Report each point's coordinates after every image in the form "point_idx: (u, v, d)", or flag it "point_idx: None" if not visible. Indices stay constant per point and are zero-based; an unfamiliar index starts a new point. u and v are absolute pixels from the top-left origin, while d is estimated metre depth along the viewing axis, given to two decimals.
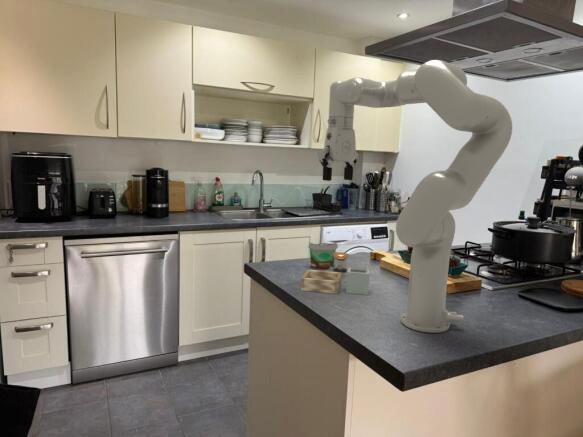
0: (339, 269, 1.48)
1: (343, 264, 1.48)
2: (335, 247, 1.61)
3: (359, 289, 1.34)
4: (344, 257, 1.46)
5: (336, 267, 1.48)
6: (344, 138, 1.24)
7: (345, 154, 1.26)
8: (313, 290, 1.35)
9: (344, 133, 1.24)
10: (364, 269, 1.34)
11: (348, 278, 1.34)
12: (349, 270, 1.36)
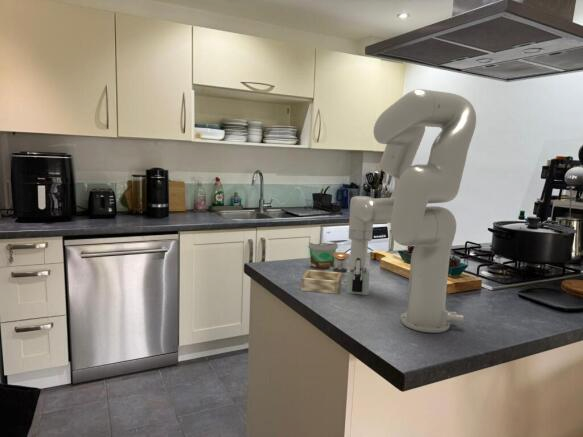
0: (339, 269, 1.48)
1: (343, 264, 1.48)
2: (335, 247, 1.61)
3: None
4: (344, 257, 1.46)
5: (336, 267, 1.48)
6: None
7: None
8: (313, 290, 1.35)
9: None
10: None
11: (348, 278, 1.34)
12: (349, 270, 1.36)
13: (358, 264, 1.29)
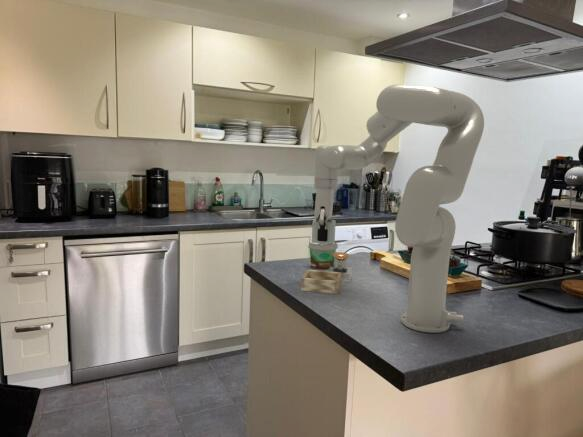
0: (339, 269, 1.48)
1: (343, 264, 1.48)
2: (335, 247, 1.61)
3: None
4: (344, 257, 1.46)
5: (336, 267, 1.48)
6: None
7: None
8: (313, 290, 1.35)
9: None
10: (329, 219, 1.35)
11: (313, 227, 1.35)
12: (315, 220, 1.37)
13: (322, 212, 1.30)
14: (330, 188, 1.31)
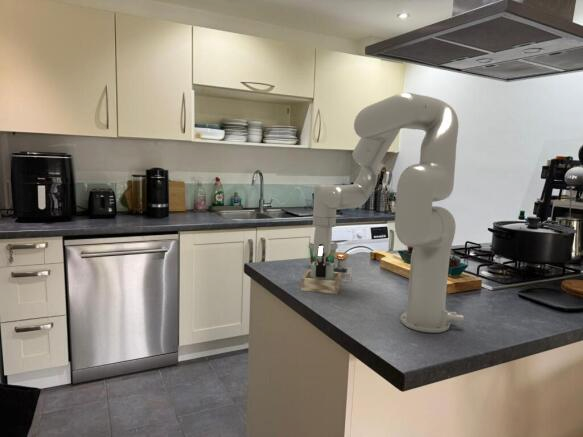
0: (339, 269, 1.48)
1: (343, 264, 1.48)
2: (335, 247, 1.61)
3: None
4: (344, 257, 1.46)
5: (336, 267, 1.48)
6: None
7: None
8: (313, 290, 1.35)
9: None
10: (328, 262, 1.37)
11: (312, 271, 1.37)
12: (313, 263, 1.39)
13: (320, 249, 1.32)
14: (328, 226, 1.33)
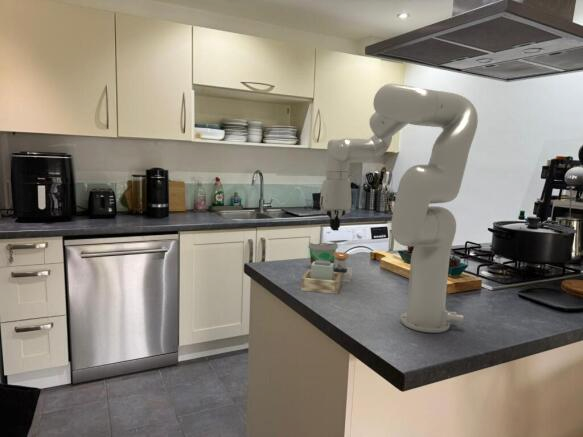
0: (339, 269, 1.48)
1: (343, 264, 1.48)
2: (335, 247, 1.61)
3: None
4: (344, 257, 1.46)
5: (336, 267, 1.48)
6: None
7: None
8: (313, 290, 1.35)
9: None
10: (328, 262, 1.37)
11: (312, 271, 1.37)
12: (313, 263, 1.39)
13: (322, 203, 1.41)
14: (329, 179, 1.38)
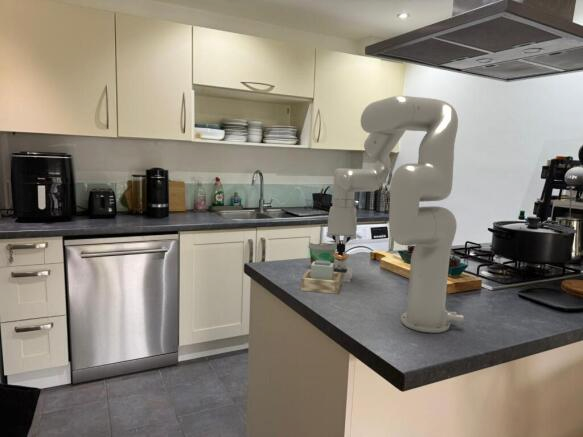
0: (339, 270, 1.48)
1: (343, 264, 1.48)
2: (335, 247, 1.61)
3: None
4: (344, 257, 1.46)
5: (336, 267, 1.48)
6: None
7: None
8: (313, 290, 1.35)
9: None
10: (328, 262, 1.37)
11: (312, 271, 1.37)
12: (313, 263, 1.39)
13: None
14: (333, 206, 1.45)
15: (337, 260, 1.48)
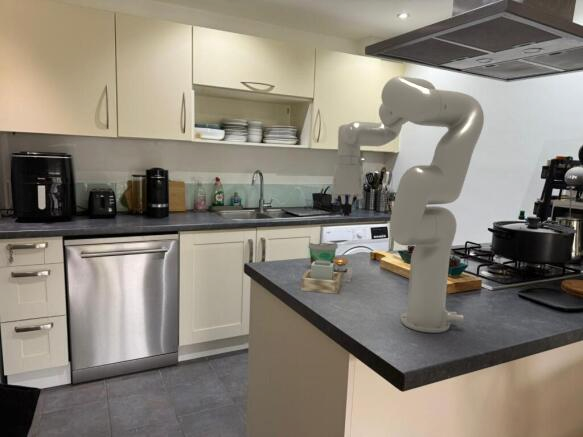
0: None
1: (343, 269, 1.48)
2: (335, 247, 1.61)
3: None
4: (344, 262, 1.47)
5: None
6: None
7: None
8: (313, 290, 1.35)
9: None
10: (328, 262, 1.37)
11: (312, 271, 1.37)
12: (313, 263, 1.39)
13: None
14: (338, 164, 1.39)
15: (337, 265, 1.48)
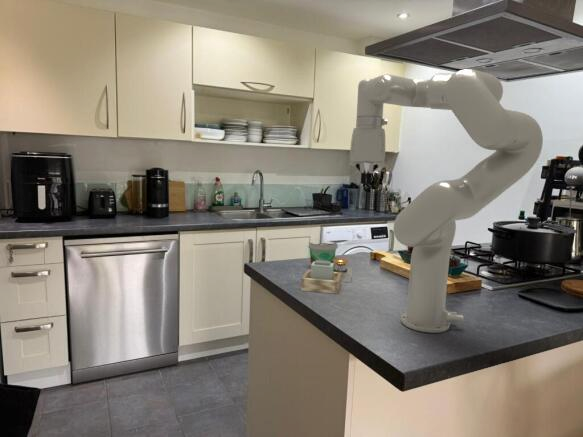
0: None
1: (343, 269, 1.48)
2: (335, 247, 1.61)
3: None
4: (344, 262, 1.47)
5: None
6: None
7: None
8: (313, 290, 1.35)
9: None
10: (328, 262, 1.37)
11: (312, 271, 1.37)
12: (313, 263, 1.39)
13: None
14: (357, 126, 1.20)
15: (337, 265, 1.48)
